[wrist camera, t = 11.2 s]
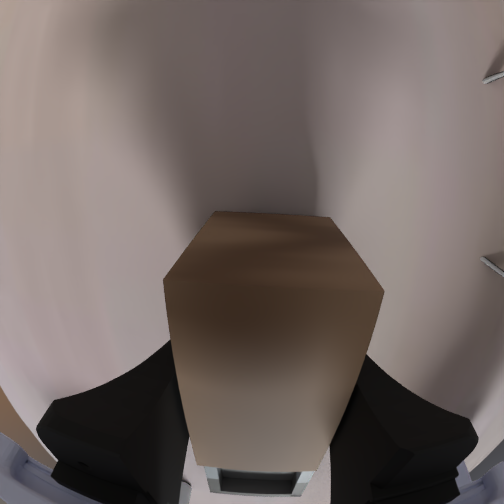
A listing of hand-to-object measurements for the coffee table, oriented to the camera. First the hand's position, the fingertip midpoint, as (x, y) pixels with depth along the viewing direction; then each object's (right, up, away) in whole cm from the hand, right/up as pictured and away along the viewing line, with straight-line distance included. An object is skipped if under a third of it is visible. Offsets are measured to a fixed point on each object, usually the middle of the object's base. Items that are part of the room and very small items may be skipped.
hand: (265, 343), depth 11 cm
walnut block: (0, +1, +2) cm, 2 cm away
